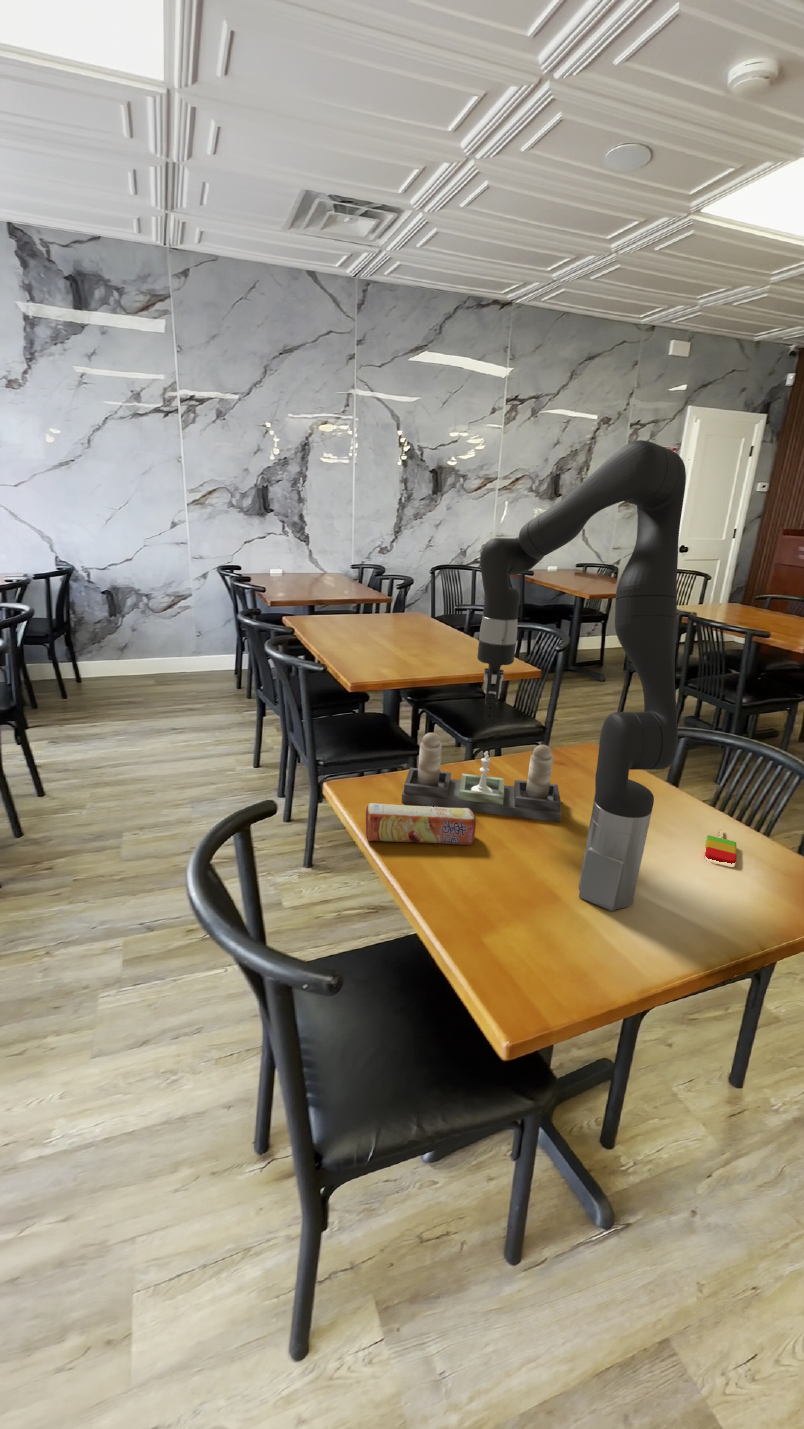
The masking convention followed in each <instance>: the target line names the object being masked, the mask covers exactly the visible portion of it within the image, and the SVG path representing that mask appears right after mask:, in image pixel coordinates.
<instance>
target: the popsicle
mask: <svg viewBox="0 0 804 1429" xmlns="http://www.w3.org/2000/svg"><path fill="white" fill-rule="evenodd" d="M719 830H722V829H718V836H720V835H719V833H720V832H719ZM718 836H714V835H710V834H709V835H708V834H707V835H706V838H707V840H705V848H706V852H705V851H704V857H705V856H706V857H707V858H708V859H712V860H716V861H719V862H727V863H731V864H732V863H735V862H736V863H737V842H736V841H734V840H730V839H726V838H724V839H722V838H718Z"/></svg>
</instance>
